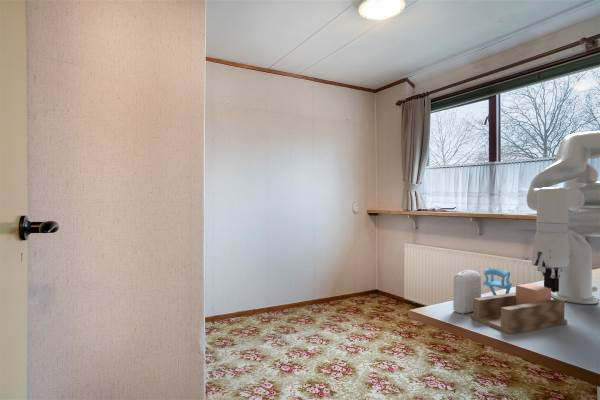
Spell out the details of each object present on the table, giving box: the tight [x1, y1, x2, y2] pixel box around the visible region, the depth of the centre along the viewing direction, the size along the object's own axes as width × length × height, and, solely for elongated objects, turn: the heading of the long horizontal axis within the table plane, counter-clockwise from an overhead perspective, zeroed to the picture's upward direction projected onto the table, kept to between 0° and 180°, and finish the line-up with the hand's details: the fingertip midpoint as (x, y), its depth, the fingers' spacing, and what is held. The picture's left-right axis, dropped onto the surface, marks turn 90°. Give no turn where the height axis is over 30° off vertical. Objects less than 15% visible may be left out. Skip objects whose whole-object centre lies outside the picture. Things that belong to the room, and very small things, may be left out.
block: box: [515, 283, 552, 305], centre depth 96 cm, size 6×6×8 cm
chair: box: [482, 267, 513, 296], centre depth 109 cm, size 8×8×12 cm
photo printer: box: [452, 269, 482, 314], centre depth 103 cm, size 10×4×12 cm, turn 123°
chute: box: [470, 292, 568, 335], centre depth 94 cm, size 22×12×6 cm, turn 111°
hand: (551, 290), depth 99 cm, fingers closed
